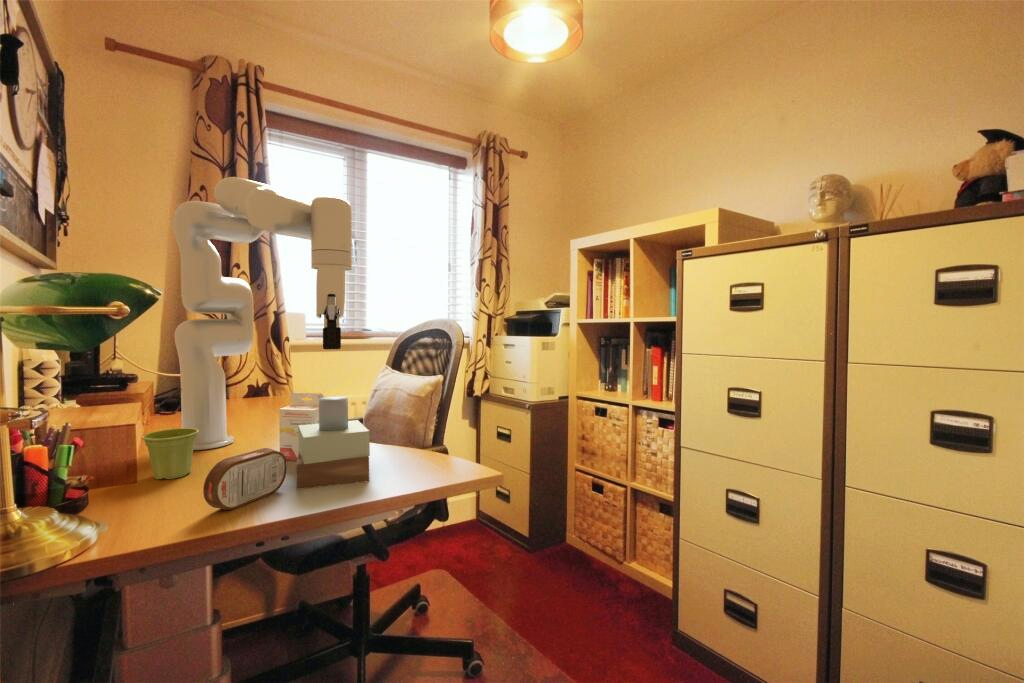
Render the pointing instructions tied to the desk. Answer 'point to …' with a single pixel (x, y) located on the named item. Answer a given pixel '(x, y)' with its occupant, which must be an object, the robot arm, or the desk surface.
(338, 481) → the walnut base block
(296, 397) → the ink cartridge box
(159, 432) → the plant pot
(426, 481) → the desk surface
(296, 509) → the desk surface
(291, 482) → the desk surface
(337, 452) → the sage top block
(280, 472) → the tin
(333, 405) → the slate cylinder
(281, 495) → the desk surface
